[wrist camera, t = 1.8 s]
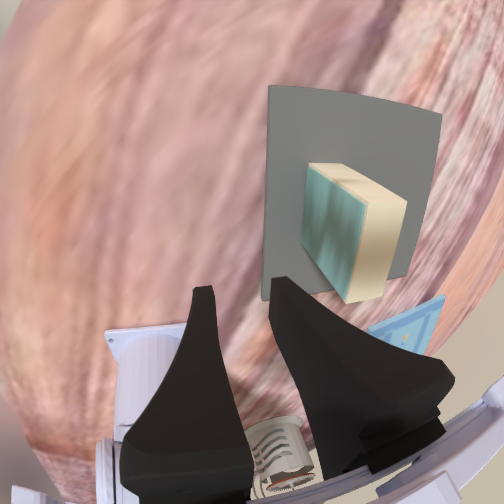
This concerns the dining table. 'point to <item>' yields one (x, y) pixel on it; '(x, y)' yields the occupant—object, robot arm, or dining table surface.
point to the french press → (272, 444)
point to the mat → (344, 152)
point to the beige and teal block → (350, 229)
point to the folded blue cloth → (410, 326)
